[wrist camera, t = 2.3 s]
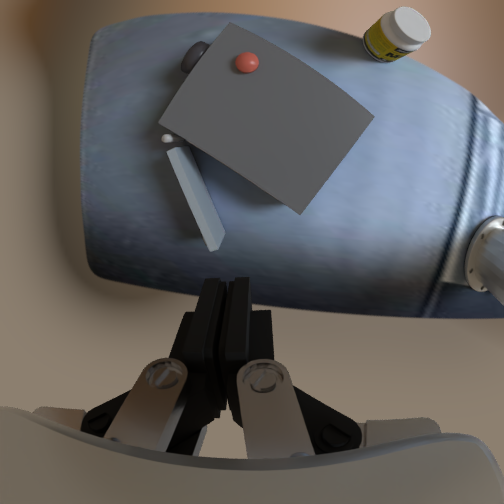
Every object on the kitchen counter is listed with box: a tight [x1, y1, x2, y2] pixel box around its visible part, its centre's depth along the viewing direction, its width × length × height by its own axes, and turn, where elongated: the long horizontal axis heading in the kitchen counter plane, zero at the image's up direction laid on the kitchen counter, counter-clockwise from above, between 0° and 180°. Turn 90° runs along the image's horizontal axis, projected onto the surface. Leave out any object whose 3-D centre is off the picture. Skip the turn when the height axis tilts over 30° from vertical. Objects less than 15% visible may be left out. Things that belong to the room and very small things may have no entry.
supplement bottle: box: [363, 7, 431, 63], centre depth 17 cm, size 5×5×8 cm
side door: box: [167, 146, 225, 252], centre depth 27 cm, size 11×2×5 cm, turn 21°
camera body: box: [158, 23, 375, 215], centre depth 23 cm, size 18×13×6 cm
